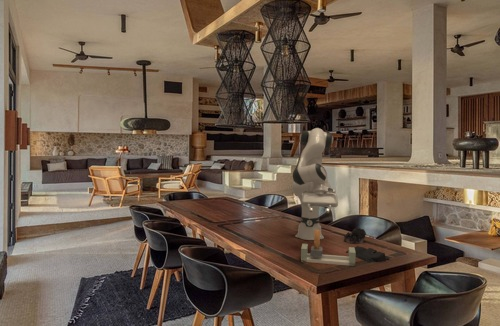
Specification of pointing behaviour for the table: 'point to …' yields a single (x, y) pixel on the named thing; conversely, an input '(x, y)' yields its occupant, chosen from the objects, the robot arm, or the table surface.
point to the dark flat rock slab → (369, 254)
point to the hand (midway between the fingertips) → (319, 211)
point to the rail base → (327, 261)
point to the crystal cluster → (355, 236)
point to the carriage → (316, 244)
